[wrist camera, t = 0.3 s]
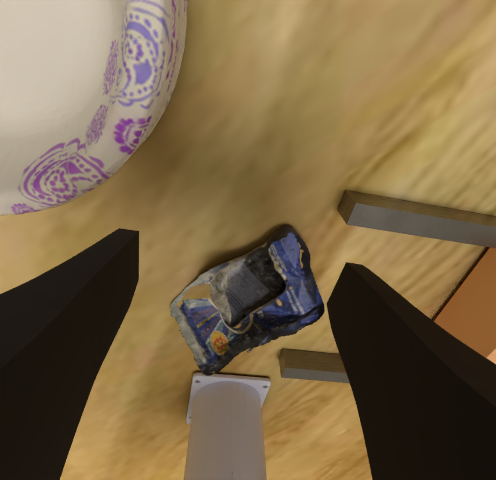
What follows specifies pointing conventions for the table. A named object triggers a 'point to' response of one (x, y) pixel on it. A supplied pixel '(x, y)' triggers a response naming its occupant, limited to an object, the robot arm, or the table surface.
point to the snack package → (250, 302)
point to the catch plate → (474, 309)
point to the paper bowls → (80, 92)
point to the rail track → (395, 220)
